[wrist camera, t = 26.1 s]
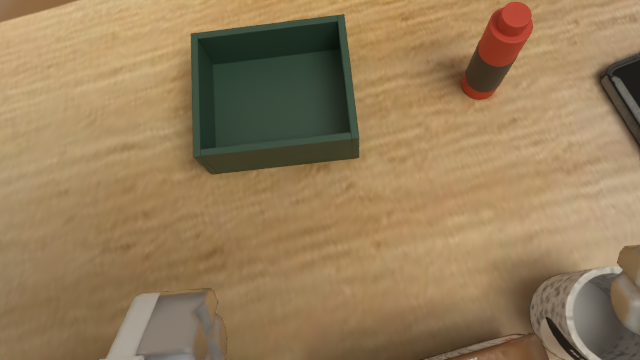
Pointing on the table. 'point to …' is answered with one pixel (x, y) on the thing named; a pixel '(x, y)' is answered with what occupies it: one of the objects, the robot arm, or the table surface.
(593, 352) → the mug
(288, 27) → the dark green open box
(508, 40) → the red and grey bottle
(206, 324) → the robot arm
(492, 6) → the table surface
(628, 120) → the phone
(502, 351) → the tin
